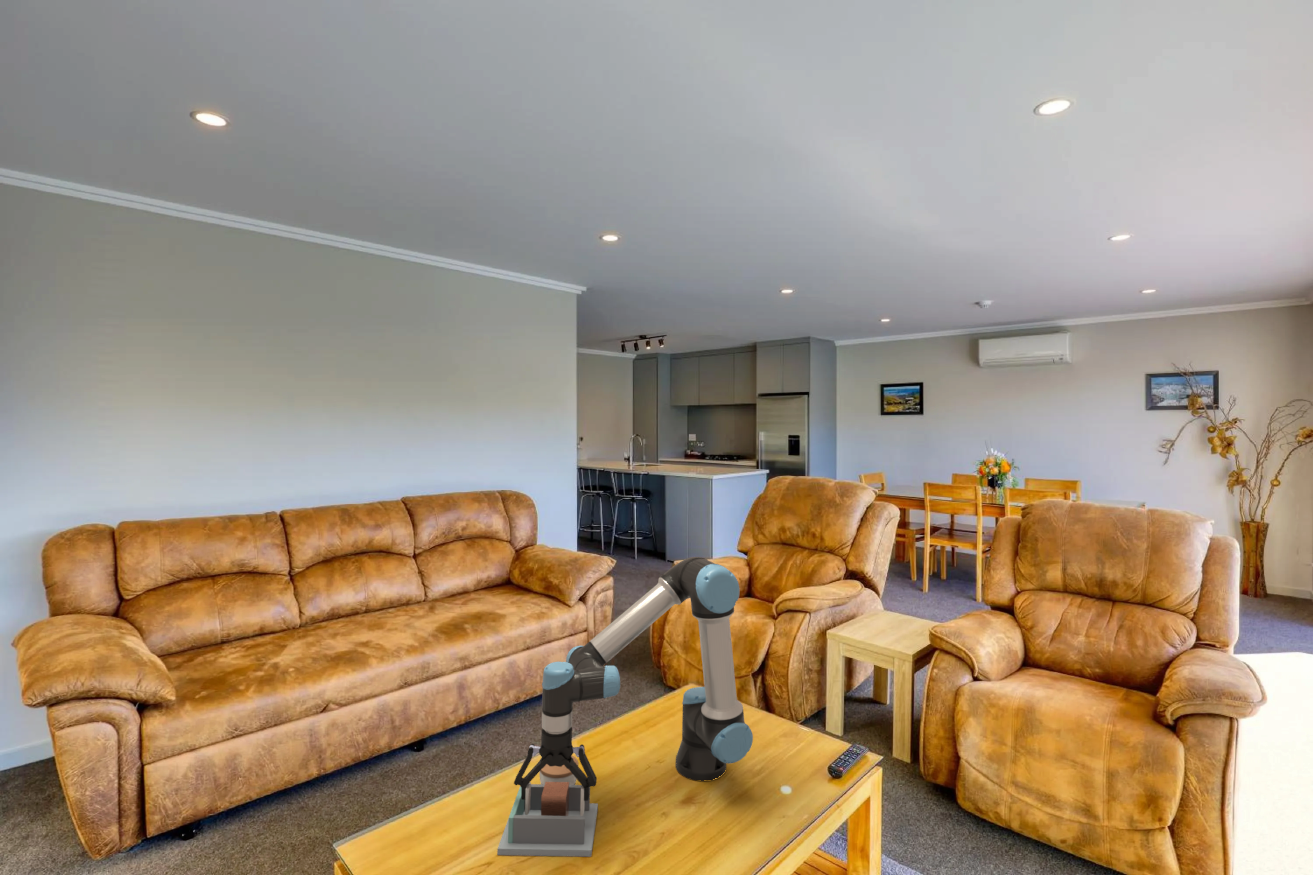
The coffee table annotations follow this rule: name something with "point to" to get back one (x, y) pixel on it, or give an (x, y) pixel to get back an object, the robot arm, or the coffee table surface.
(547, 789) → the upright terracotta block
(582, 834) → the dock
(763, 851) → the coffee table surface
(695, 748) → the robot arm
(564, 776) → the lidded jar
